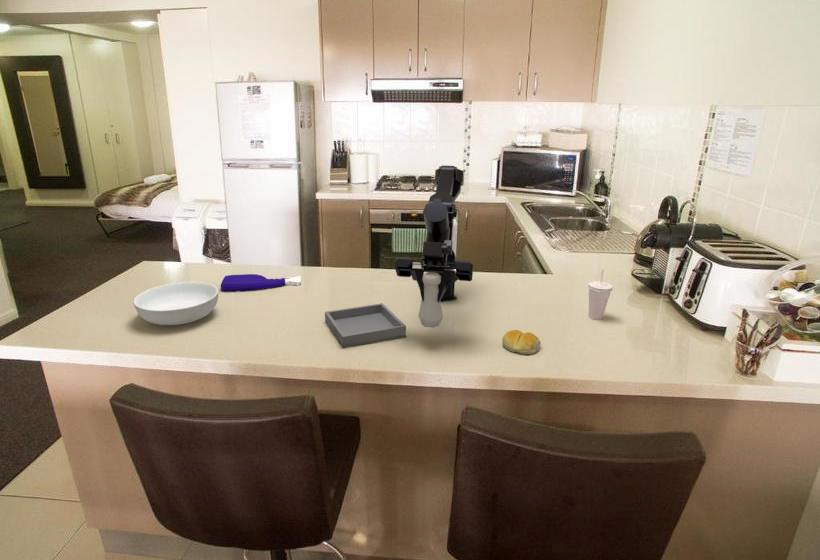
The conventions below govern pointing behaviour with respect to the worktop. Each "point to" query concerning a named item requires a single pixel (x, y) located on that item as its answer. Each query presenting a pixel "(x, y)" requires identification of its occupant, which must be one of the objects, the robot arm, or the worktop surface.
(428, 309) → the salt shaker
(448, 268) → the robot arm
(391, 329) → the tray
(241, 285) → the spray bottle
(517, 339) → the bread roll
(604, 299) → the smoothie
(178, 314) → the serving bowl
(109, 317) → the worktop surface
